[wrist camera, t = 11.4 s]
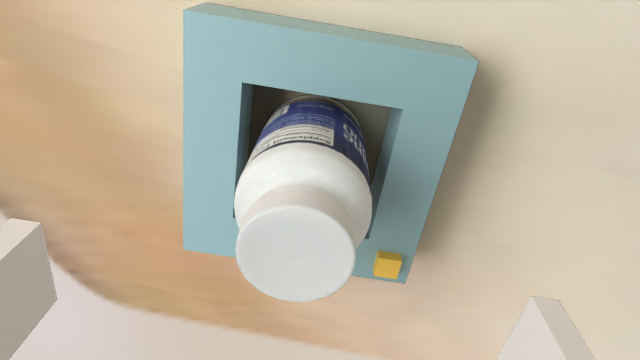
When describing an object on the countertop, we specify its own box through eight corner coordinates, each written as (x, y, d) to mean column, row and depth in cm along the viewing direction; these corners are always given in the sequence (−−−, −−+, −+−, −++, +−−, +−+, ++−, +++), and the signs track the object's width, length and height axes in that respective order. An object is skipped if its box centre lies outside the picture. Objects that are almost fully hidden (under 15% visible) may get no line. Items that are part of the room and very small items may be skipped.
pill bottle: (367, 182, 23) (382, 315, 15) (272, 189, 24) (232, 321, 15) (361, 86, 21) (374, 179, 12) (254, 97, 21) (195, 192, 13)
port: (205, 2, 19) (178, 11, 16) (460, 46, 20) (483, 64, 16) (200, 218, 25) (179, 256, 22) (398, 249, 25) (406, 291, 22)
